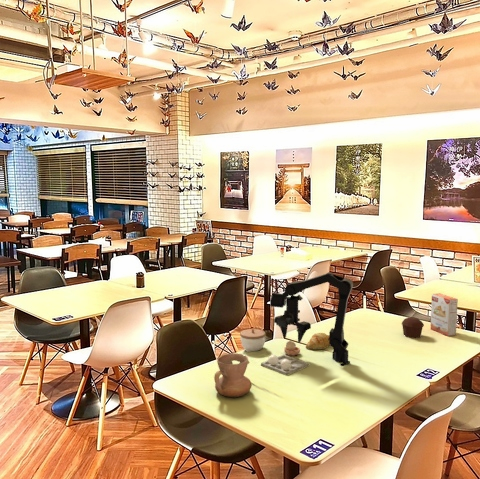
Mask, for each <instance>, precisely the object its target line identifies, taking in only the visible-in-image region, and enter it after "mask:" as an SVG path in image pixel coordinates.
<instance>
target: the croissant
mask: <svg viewBox="0 0 480 479" xmlns="http://www.w3.org/2000/svg"><path fill="white" fill-rule="evenodd" d="M328 339H329V334H326V333H325V332H324V333H323V332H317V333H314V334H313V335H312V336H311V338H309V341H308V342H307V344H305V349H306V350H323V349H325V348H328V347H329V346H331V345H330V344H329V340H328Z"/></svg>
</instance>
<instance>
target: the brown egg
mask: <svg viewBox="0 0 480 479" xmlns="http://www.w3.org/2000/svg"><path fill="white" fill-rule="evenodd" d="M285 347H286V348H287V350H289V351H293V350H295V348H296V347H297V344H296V343H295V342H294V341H292V340H288V341H287V342H286V344H285Z"/></svg>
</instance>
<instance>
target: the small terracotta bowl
mask: <svg viewBox="0 0 480 479" xmlns="http://www.w3.org/2000/svg"><path fill="white" fill-rule="evenodd" d="M283 350H284V353H285V354H286V355H287V356H290V357H291V356H297V355H298V354H299V353H301V348H300V347H299V346H296V348H295V350H293V351H289V350H287V348H286V346H285V347H284V349H283Z"/></svg>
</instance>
